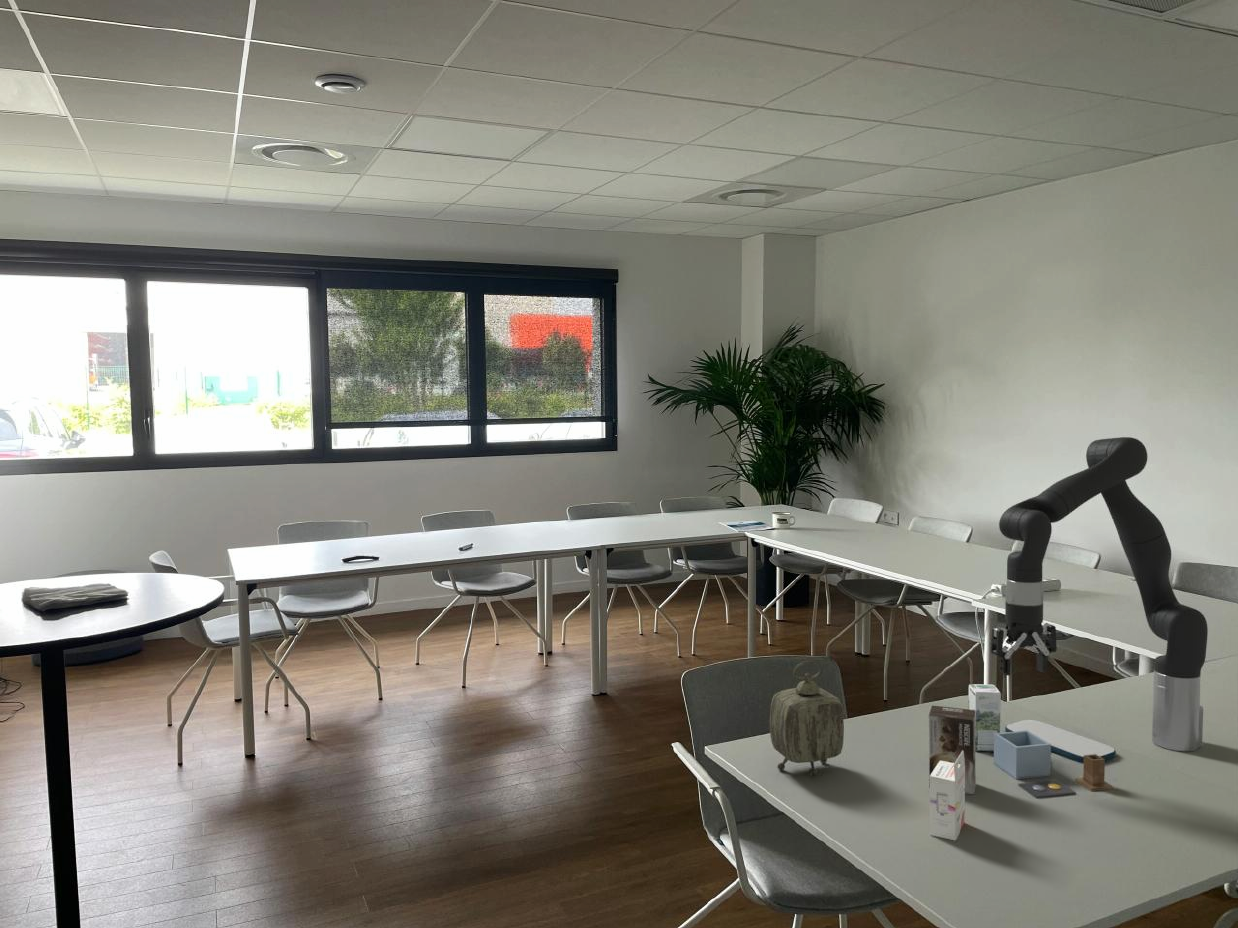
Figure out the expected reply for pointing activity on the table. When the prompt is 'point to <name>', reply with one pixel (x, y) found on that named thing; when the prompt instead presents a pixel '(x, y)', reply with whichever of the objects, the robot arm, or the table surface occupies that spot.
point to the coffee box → (953, 740)
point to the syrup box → (985, 714)
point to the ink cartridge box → (947, 798)
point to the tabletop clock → (806, 722)
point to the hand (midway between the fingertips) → (1023, 672)
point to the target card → (1046, 788)
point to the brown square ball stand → (1094, 773)
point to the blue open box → (1022, 754)
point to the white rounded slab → (1064, 741)
